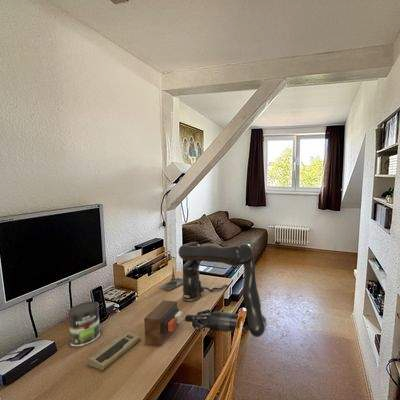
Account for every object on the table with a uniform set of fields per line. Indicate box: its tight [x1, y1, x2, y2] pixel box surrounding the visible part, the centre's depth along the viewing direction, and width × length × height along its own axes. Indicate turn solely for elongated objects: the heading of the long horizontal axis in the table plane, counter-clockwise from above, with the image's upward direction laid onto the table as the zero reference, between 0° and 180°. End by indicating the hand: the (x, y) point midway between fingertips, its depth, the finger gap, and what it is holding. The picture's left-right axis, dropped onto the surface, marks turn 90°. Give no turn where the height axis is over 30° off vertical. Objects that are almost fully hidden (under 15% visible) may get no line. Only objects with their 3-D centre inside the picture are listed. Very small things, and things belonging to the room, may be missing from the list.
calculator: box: [90, 300, 126, 316], centre depth 120 cm, size 11×4×15 cm
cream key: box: [174, 310, 184, 324], centre depth 101 cm, size 2×4×4 cm, turn 173°
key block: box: [143, 299, 180, 347], centre depth 99 cm, size 9×14×12 cm, turn 173°
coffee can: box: [67, 301, 101, 347], centre depth 96 cm, size 10×10×14 cm
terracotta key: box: [168, 318, 178, 333], centre depth 96 cm, size 2×4×4 cm, turn 173°
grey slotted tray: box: [87, 331, 140, 371], centre depth 89 cm, size 16×8×3 cm, turn 163°
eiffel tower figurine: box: [158, 266, 183, 291], centre depth 146 cm, size 15×10×13 cm
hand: (185, 317), depth 101 cm, fingers closed
